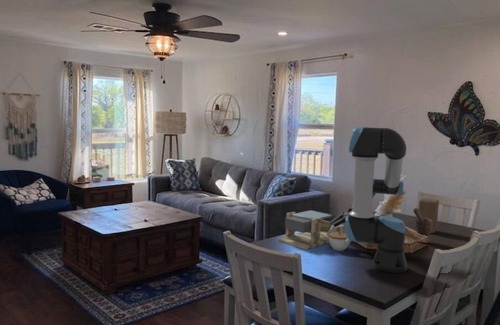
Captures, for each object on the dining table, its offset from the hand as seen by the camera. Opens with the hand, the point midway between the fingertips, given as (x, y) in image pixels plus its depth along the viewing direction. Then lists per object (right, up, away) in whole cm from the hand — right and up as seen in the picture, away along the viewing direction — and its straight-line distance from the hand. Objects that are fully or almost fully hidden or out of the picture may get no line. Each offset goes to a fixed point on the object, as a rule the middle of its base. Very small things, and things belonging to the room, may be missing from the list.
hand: (337, 239), depth 216 cm
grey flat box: (-14, +4, +13) cm, 20 cm away
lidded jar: (+1, -6, +1) cm, 6 cm away
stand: (-11, -3, +17) cm, 21 cm away
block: (+65, -3, +42) cm, 78 cm away
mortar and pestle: (+51, -5, +17) cm, 54 cm away
